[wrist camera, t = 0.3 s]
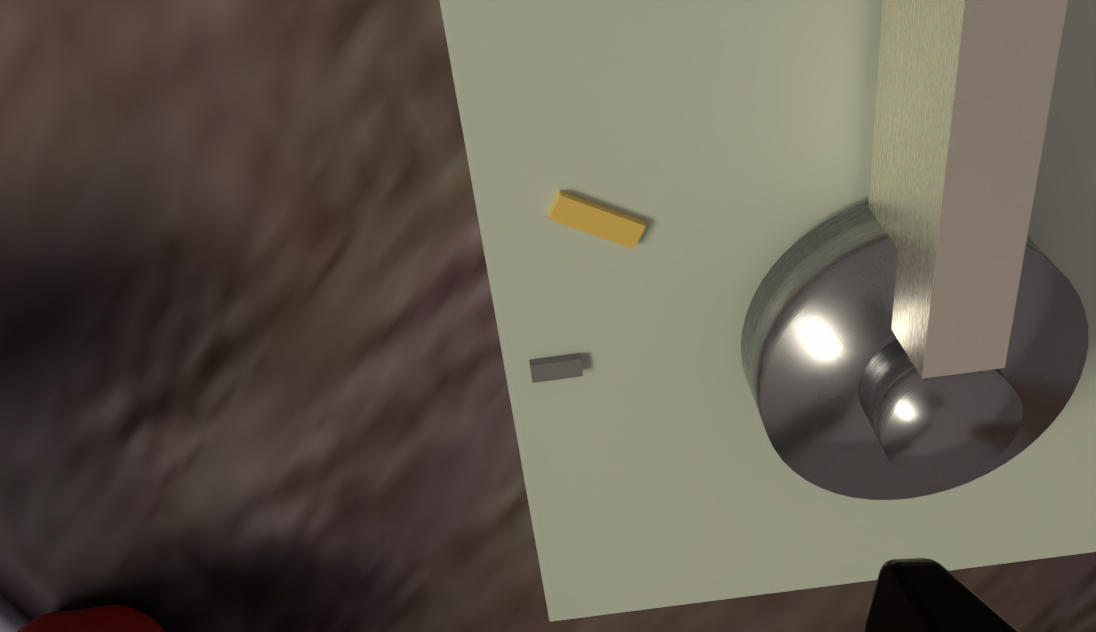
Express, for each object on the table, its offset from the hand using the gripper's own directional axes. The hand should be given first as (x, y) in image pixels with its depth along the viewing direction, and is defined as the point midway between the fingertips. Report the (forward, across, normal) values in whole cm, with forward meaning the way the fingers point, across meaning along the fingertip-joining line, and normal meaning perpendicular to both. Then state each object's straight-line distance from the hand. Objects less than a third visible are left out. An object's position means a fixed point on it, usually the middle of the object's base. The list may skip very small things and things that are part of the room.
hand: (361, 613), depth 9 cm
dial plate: (+14, -10, +6) cm, 19 cm away
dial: (+13, -10, +3) cm, 17 cm away
